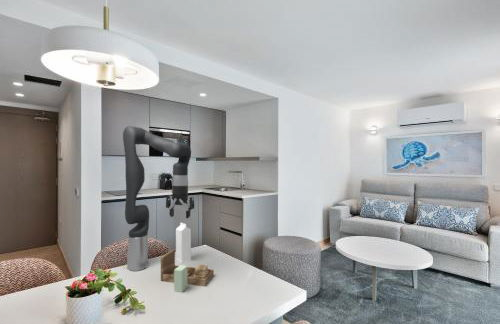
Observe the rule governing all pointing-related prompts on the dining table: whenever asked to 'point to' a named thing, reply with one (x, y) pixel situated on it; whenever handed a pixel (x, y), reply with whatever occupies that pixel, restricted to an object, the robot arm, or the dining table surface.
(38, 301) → the dining table surface
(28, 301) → the dining table surface
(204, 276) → the offcut
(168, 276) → the rack
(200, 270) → the offcut
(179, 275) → the pale green block
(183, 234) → the milk
